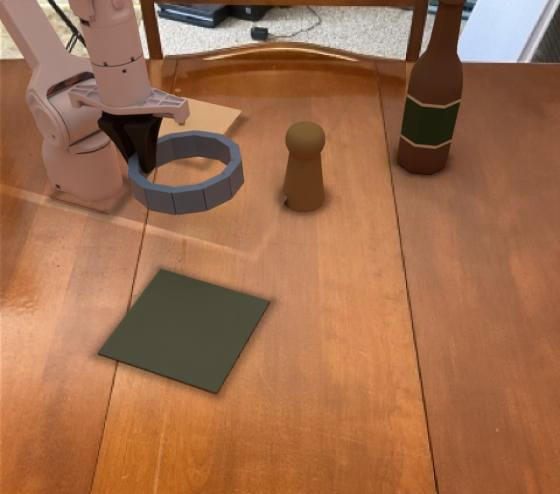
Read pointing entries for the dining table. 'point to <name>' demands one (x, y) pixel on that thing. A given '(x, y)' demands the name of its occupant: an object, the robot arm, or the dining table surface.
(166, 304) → the mat
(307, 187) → the brown pawn
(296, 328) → the dining table surface
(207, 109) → the stand
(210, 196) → the ring
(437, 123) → the beer bottle
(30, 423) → the dining table surface
